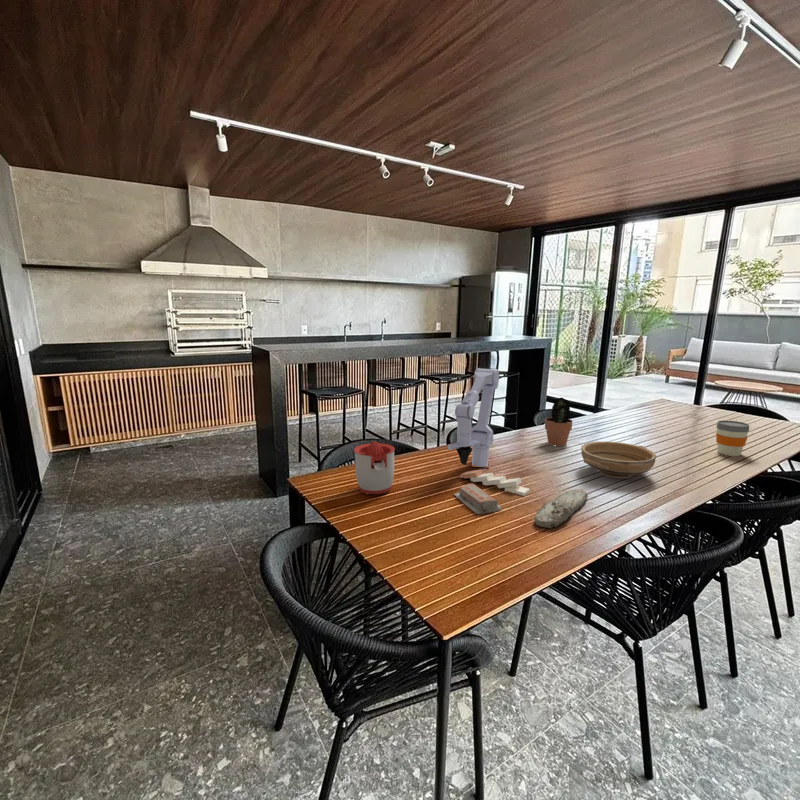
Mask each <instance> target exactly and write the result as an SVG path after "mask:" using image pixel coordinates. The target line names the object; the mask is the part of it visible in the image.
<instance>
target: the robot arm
mask: <svg viewBox="0 0 800 800" xmlns="http://www.w3.org/2000/svg"><path fill="white" fill-rule="evenodd" d="M473 377H474V382H473V384H472V386H471V389H470V390H468V391H467V392H466V394H465V396H464V397H463V399H462V401H461V402H460V403H459V404H457V405H456V406H455V409H454V415H455V420H456V421H455V422H457V424H456V425H457V427H456V430H457V431H456V433H457V434H456V435H457V436H456V441H455V442H453V443H450V444H449V443H448V445H447V450H449V451H453V450H455V451H456V452H457V454H458V456H459V460H460V464H461V465H464V466H465V465H467V463H468V460H469V458H470V455H472V458H471V460H472V464H473V465H474V466H479V467H484V466H488V461H489V455H490V451H489V450H490V449H489V448H491V446H493V443H494V430H493V429H492V428H491V427H490V426H489V423H490V422H489V421H490V417H491V416H490V415H491V411H492V410H491V409H492V405H493V398H494V392H495V390H497V389H498V386H499V382H500V372H499V370H498V369H497V368H495V369H493V368H492V369H491V368H481V367H478V368H476V369H475V371H474V375H473ZM481 391H482V393H481ZM480 393H481V399H480V395H479V394H480ZM479 400H480V406H479V410H478V411H479V412H478V418H477V424H475V425H474V426H472V419H473V417H474V415H475V410H476V405H477V403H478V402H479ZM471 453H472V454H471Z"/></svg>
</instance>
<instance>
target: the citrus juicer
mask: <svg viewBox="0 0 800 800" xmlns="http://www.w3.org/2000/svg"><path fill="white" fill-rule="evenodd" d="M395 448H396V447H394V445H391V444H387V443H381V442H380V443H378V442H377V441H376V440H373V441H372V442H371V443H365V444H364V443H363V444H361V445H357V446H355V448H354V449H353V450H354V459H355V460H354V462H355V463H354V464H355V466H354V467H355V477H356V480H357V481H356V482H357V484H358V487H359V490H360V491H362V492H364V493H368V494H382V493H385V492H388V491H389V490H390V491H391V489H392V486H393V482H394V478H395V450H396V449H395ZM390 491H389V492H390ZM362 492H361V493H362ZM389 492H388V493H389ZM364 493H363V494H364ZM385 494H386V493H385ZM382 495H383V494H382Z"/></svg>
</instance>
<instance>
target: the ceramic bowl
mask: <svg viewBox="0 0 800 800" xmlns="http://www.w3.org/2000/svg"><path fill="white" fill-rule="evenodd" d="M580 447H581V448H580V449H581V453H580V454H581V457H582V459H583V463H585V464H586V465H588V466H589V467H591V468H592V469H595V470H597V471H598V472H599V473H600V474H601V475H602V476H603V475H604V476H606V477H609V478H612V479H613V478H614V479H630V478H632V477H633V476H637V475H641V474H644V473H648V471H650V470H651V469H653V467H654V465H655V464H656V459H657V454H656V453H655V452H654V451H652V450H650V449H649V448H647V447H645V446H643V445H636V444H630V443H625V442H619V441H618V442H617V441H592V442H588V443H587V442H586V443H583V445H581V446H580Z"/></svg>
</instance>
